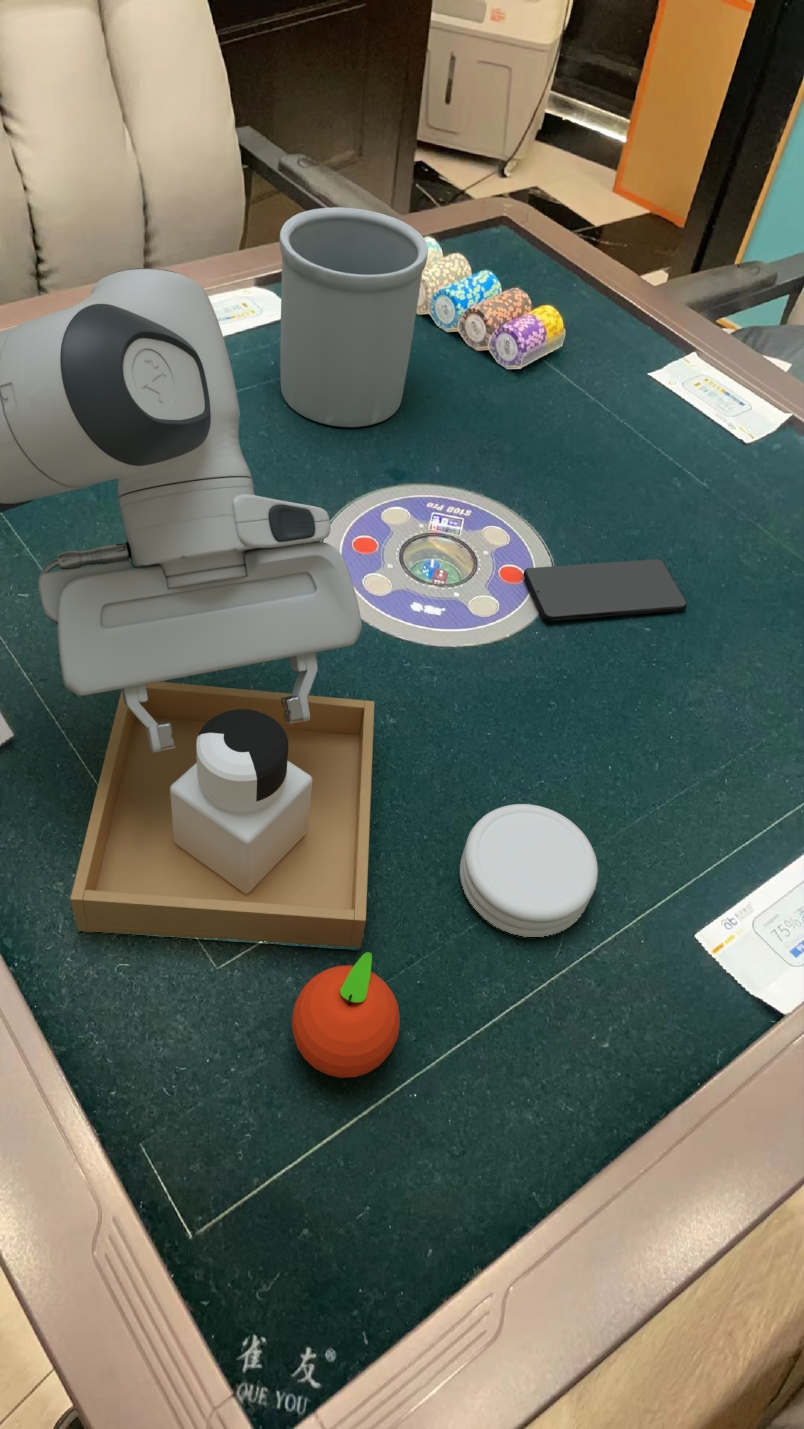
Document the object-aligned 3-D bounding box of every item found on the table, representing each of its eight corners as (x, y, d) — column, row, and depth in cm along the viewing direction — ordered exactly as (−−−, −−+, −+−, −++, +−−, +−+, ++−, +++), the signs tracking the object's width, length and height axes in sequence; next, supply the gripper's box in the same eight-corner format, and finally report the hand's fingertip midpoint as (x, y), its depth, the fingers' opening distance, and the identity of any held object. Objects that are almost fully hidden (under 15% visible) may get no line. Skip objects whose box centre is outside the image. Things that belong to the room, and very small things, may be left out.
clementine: (315, 966, 73) (322, 916, 68) (410, 999, 72) (425, 951, 67) (273, 1073, 68) (277, 1028, 62) (375, 1109, 67) (387, 1067, 62)
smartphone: (690, 605, 101) (545, 617, 97) (686, 612, 102) (543, 624, 98) (662, 557, 105) (522, 567, 101) (659, 564, 106) (520, 573, 102)
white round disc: (608, 926, 78) (621, 902, 75) (483, 953, 75) (492, 929, 73) (558, 816, 84) (569, 791, 81) (441, 838, 81) (448, 812, 79)
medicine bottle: (236, 782, 81) (236, 679, 72) (308, 832, 79) (319, 732, 70) (171, 843, 77) (164, 741, 68) (246, 897, 75) (249, 800, 66)
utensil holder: (272, 352, 121) (277, 199, 108) (399, 358, 124) (419, 210, 111) (276, 428, 112) (282, 271, 99) (413, 434, 115) (437, 281, 101)
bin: (77, 931, 72) (69, 899, 69) (128, 714, 85) (124, 678, 82) (359, 951, 74) (366, 920, 71) (368, 736, 87) (374, 700, 83)
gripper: (32, 553, 63) (79, 774, 65) (350, 508, 70) (383, 710, 72) (31, 559, 69) (73, 762, 71) (324, 517, 76) (355, 703, 78)
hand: (232, 735), depth 72 cm, fingers open, 8 cm apart
